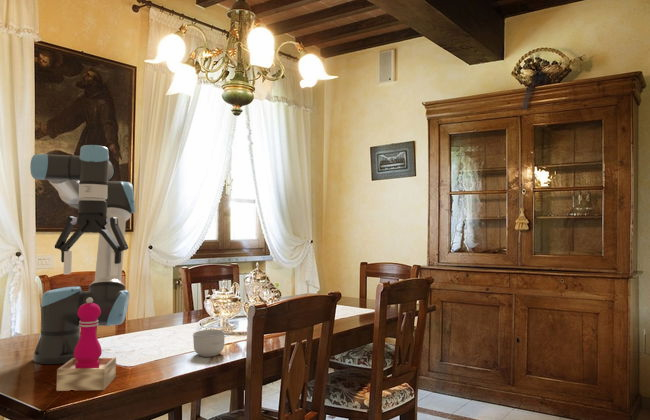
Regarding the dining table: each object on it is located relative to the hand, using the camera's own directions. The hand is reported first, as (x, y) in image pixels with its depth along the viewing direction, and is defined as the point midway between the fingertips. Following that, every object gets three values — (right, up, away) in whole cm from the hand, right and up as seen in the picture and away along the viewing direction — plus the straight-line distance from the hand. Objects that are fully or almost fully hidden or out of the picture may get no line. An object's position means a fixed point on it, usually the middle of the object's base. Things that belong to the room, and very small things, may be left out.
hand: (90, 274), depth 151 cm
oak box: (-1, -31, -1) cm, 31 cm away
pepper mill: (-1, -27, -1) cm, 27 cm away
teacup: (+26, -32, +36) cm, 55 cm away
